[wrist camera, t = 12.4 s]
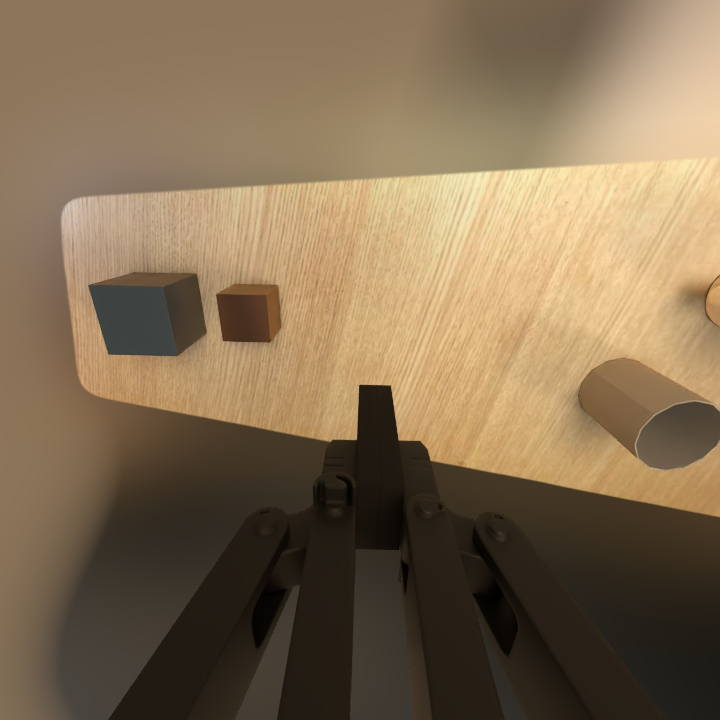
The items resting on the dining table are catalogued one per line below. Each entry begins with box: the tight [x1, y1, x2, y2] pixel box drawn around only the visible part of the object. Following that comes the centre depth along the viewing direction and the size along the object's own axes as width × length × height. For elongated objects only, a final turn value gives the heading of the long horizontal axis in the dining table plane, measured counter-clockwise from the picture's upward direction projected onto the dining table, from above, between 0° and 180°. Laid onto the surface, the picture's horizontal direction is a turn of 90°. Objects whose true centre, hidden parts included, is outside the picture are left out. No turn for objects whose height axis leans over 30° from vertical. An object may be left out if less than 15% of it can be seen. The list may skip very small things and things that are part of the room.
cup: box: [579, 358, 720, 471], centre depth 39 cm, size 8×8×10 cm
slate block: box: [88, 272, 206, 356], centre depth 37 cm, size 7×7×7 cm
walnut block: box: [216, 284, 281, 342], centre depth 38 cm, size 5×5×5 cm
